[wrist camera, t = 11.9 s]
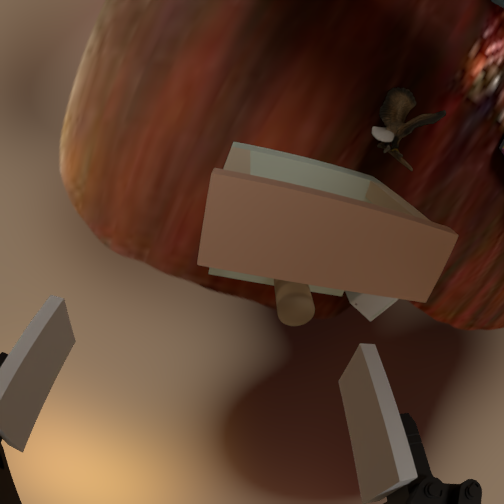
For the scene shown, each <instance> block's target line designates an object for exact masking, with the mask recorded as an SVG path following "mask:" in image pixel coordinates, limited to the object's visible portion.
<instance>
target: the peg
mask: <svg viewBox="0 0 504 504" xmlns="http://www.w3.org/2000/svg"><path fill="white" fill-rule="evenodd" d="M274 287H275V296H276V305H277V314H278V318H279V319H280V320H281V322H282V323H284V324H286V325H289V326H299V325H303V324H305V323H307V322H308V321H310V320H311V319H312V317H313V316H314V313H315V306H314V303H313V299H312V295H311V292H310V288H309V285H308V284H302V283H296V282H291V281H285V280H279V279H274Z"/></svg>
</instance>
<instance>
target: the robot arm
mask: <svg viewBox="0 0 504 504" xmlns="http://www.w3.org/2000/svg"><path fill="white" fill-rule="evenodd" d="M491 1H492V2H493V3H495V4H497V5H499V6H500V7H502V8H504V0H491ZM74 343H75V338H74V335H73V331H72V328H71V324H70V321H69V316H68V312H67V309H66V304H65V300H64V298H60V297H57V296H53V295H50V297H49V298H48V299H47V301H46V302H45V303H44V304H43V306H42V307H41V309H40V310H39V311H38V313H37V314H36V316H35V317H34V318H33V320H32V321H31V322H30V324H29V325H28V327H27V328H26V329H25V331H24V332H23V334H22V335H21V337H20V338H19V340H18V341H17V343H16V344H15V346H14V347H13V349H12V350H11V352H10V353H9V355H8V354H6V353H3V352H2V353H1V354H0V504H22V503H21V501H20V498H19V496H18V493H17V491H16V488H15V485H14V482H13V479H12V476H11V473H10V470H9V467H8V464H7V460H6V457H5V453H4V449H3V447H2V445H1V441H2V439H3V440H4V441H5V442H6V443H7V444H8V445H10V446H12V447H13V448H15V449H17V450H19V451H21V452H23V451H24V448H25V445H26V443H27V441H28V438H29V436H30V434H31V431H32V429H33V427H34V424H35V422H36V420H37V417H38V415H39V413H40V410H41V409H42V406H43V404H44V402H45V400H46V398H47V396H48V394H49V392H50V389H51V387H52V385H53V383H54V381H55V379H56V377H57V375H58V373H59V371H60V370H61V368H62V366H63V364H64V362H65V360H66V358H67V356H68V354H69V352H70V350H71V348H72V347H73V345H74ZM339 386H340V390H341V395H342V400H343V404H344V409H345V414H346V418H347V423H348V428H349V433H350V438H351V443H352V448H353V454H354V459H355V465H356V470H357V475H358V482H359V487H360V493H361V500H362V504H365V503H370V502H376V501H380V500H381V499H383V498H385V497H387V502H386V503H384V504H481V497H482V489H481V486H480V484H479V483H478V482H477V481H476V480H473V479H468V480H466V481H464V482H463V483H461V484H444V483H442V482H441V481H440V480H439V479H438V478H435V477H433V475H432V473H431V471H430V467H429V464H428V460H427V457H426V454H425V451H424V447H423V444H422V443H421V438H420V435H419V432H418V429H417V426H416V423H415V421H414V420H413V419H412V417H411V416H410V415H409V413H405V414H399V411H398V408H397V406H396V403H395V399H394V396H393V393H392V391H391V388H390V385H389V382H388V379H387V376H386V373H385V371H384V368H383V365H382V362H381V360H380V357H379V354H378V352H377V349H376V346H375V344H359V346H358V348H357V350H356V352H355V354H354V355H353V357H352V359H351V361H350V362H349V364H348V366H347V368H346V369H345V371H344V373H343V375H342V376H341V378H340V380H339Z"/></svg>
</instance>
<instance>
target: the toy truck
mask: <svg viewBox="0 0 504 504" xmlns="http://www.w3.org/2000/svg"><path fill="white" fill-rule="evenodd" d="M499 149H500V150H501V152H502V153H503V155H504V140H503V141H502V143H501V145H500V147H499Z"/></svg>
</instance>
